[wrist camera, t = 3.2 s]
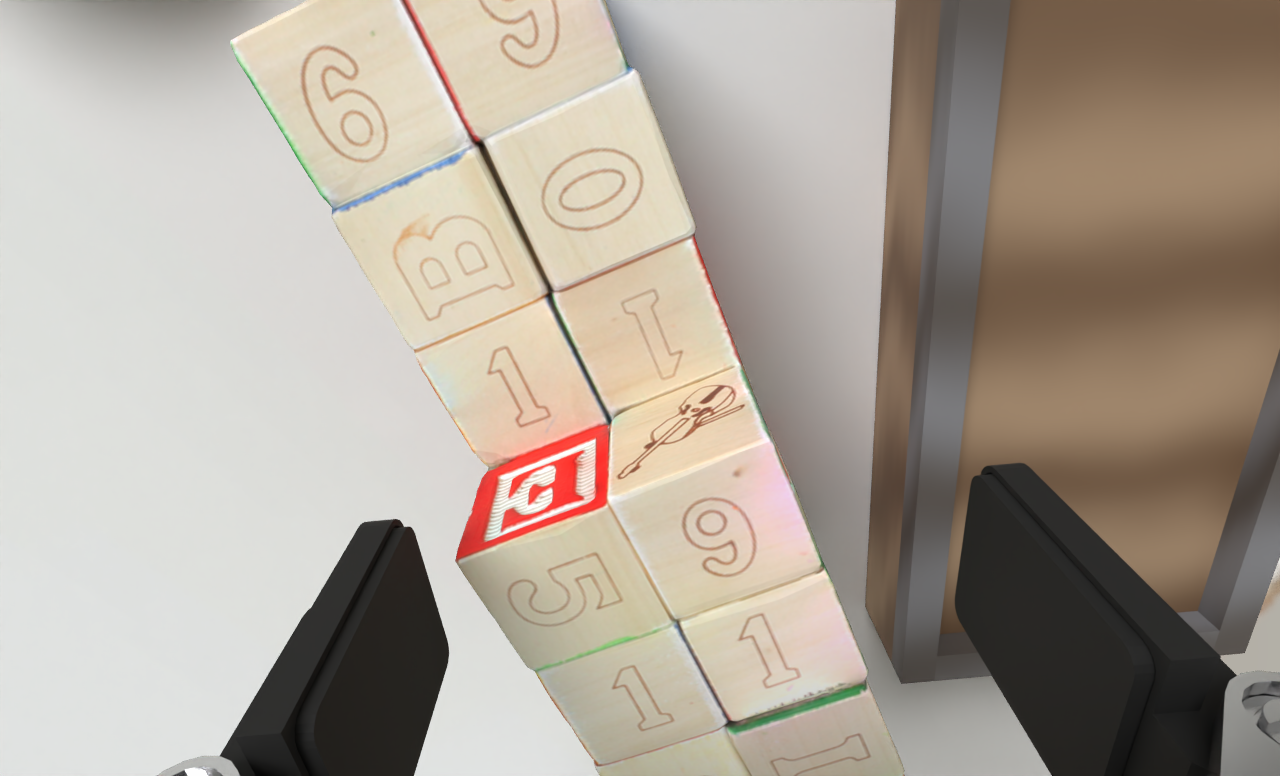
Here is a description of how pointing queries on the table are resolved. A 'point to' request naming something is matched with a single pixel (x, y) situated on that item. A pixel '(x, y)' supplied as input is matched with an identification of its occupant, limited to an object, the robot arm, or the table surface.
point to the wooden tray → (1080, 300)
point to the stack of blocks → (579, 378)
